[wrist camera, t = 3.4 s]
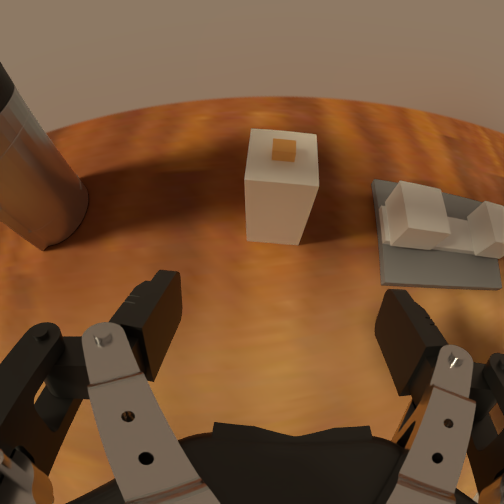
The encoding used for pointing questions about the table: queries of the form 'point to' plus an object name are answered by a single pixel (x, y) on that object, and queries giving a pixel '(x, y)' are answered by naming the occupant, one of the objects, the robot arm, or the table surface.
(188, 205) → the table surface
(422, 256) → the rail board
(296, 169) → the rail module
